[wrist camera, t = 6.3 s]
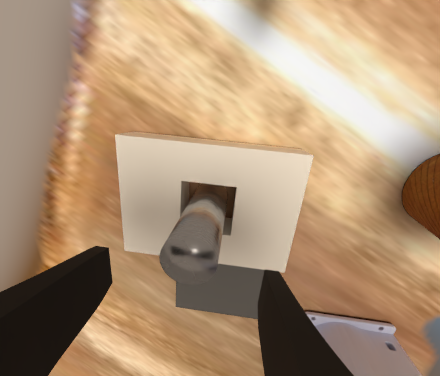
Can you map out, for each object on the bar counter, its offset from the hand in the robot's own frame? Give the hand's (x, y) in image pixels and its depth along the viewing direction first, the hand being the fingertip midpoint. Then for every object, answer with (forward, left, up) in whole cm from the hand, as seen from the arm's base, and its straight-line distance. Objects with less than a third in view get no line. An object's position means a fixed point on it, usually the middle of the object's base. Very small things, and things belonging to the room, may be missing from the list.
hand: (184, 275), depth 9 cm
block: (0, 0, -10) cm, 10 cm away
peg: (0, 0, -10) cm, 10 cm away
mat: (-2, +10, -10) cm, 14 cm away
